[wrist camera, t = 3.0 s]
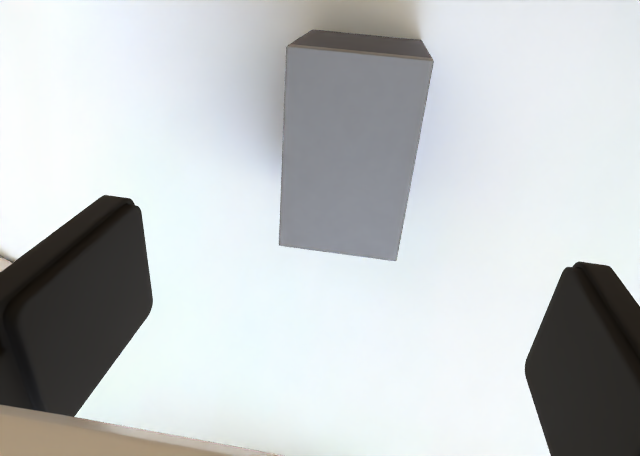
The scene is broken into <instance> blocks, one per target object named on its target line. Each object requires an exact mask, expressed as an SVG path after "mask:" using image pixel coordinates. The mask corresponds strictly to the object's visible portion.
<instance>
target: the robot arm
mask: <svg viewBox="0 0 640 456" xmlns="http://www.w3.org/2000/svg"><path fill="white" fill-rule="evenodd" d="M152 303H153V298H152V290H151V282H150V275H149V267H148V259H147V252H146V244H145V237H144V229H143V221H142V214H141V210H140V208H139V207H138V206H135V205H134V202H133V201H132V200H131V199H129V198H122V197H115V196H108V195H104V196H102V197H100V198H99V199H98V200H96V201H95V202H94V203H92V204H91V205H90V206H88V207H87V208H86V209H84V210H83V211H82V212H80V213H79V214H78V215H76V216H75V217H74V218H72V219H71V220H70V221H68V222H67V223H66V224H64V225H63V226H61V227H60V228H59V229H57V230H56V231H55V232H53V233H52V234H51V235H49V236H48V237H47V238H45V239H44V240H43V241H41V242H40V243H39V244H37V245H36V246H35V247H33V248H32V249H31V250H29V251H28V252H27V253H25V254H24V255H23V256H21V257H20V258H19V259H17V260H16V261H15V262H13V263H11V262H10V261H8V260H6V259H4V258H2V257H0V456H283V455H278V454H272V453H267V452H262V451H256V450H251V449H246V448H240V447H235V446H230V445H224V444H219V443H214V442H208V441H203V440H198V439H192V438H187V437H181V436H176V435H170V434H165V433H159V432H154V431H148V430H143V429H137V428H132V427H126V426H121V425H115V424H110V423H104V422H99V421H93V420H88V419H82V418H77V417H74V416H75V415H76V414H77V412H78V411H79V409H80V408H81V407H82V405H83V404H84V403H85V401H86V400H87V399H88V397H89V396H90V394H91V393H92V392H93V390H94V389H95V388H96V386H97V385H98V384H99V382H100V381H101V379H102V378H103V377H104V375H105V374H106V373H107V371H108V370H109V368H110V367H111V366H112V364H113V363H114V362H115V360H116V359H117V358H118V356H119V355H120V353H121V352H122V351H123V349H124V348H125V347H126V345H127V344H128V343H129V341H130V340H131V338H132V337H133V336H134V334H135V333H136V332H137V330H138V329H139V327H140V326H141V325H142V323H143V322H144V321H145V319H146V318H147V317H148V315H149V313H150V311H151V308H152ZM525 375H526V379H527V382H528V385H529V389H530V392H531V395H532V398H533V401H534V404H535V407H536V410H537V414H538V417H539V420H540V423H541V426H542V429H543V432H544V436H545V439H546V442H547V445H548V448H549V451H550V454H551V456H640V306H639V305H638V304H637V302H636V301H635V300H634V298H633V297H632V295H631V294H630V293H629V291H628V290H627V289H626V287H625V286H624V284H623V283H622V282H621V280H620V279H619V278H618V276H617V275H616V274H615V272H614V271H613V269H612V268H611V267H609V266H606V265H599V264H592V263H585V262H577V263H575V264H574V265H573V267H567V268H565V269H564V270H563V272H562V274H561V277H560V279H559V282H558V284H557V287H556V289H555V291H554V294H553V296H552V299H551V301H550V303H549V306H548V308H547V311H546V313H545V316H544V318H543V320H542V323H541V325H540V328H539V330H538V332H537V335H536V337H535V340H534V342H533V345H532V347H531V349H530V352H529V354H528V357H527V359H526V363H525Z"/></svg>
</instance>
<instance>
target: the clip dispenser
mask: <svg viewBox="0 0 640 456" xmlns="http://www.w3.org/2000/svg"><path fill="white" fill-rule="evenodd" d="M432 68H433V59H432V57H431V56H430V54H429V52H428V51H427V49H426V47H425V45H424V44H423V42H422V40H414V39H404V38H393V37H383V36H372V35H362V34H352V33H341V32H331V31H321V30H311V31H310V32H308V33H306V34H305V35H303V36H302V37H300V38H299V39H297V40H296V41H294V42H292V43H291V44H289V45H288V46H287V47H286V72H285V99H284V125H283V151H282V177H281V203H280V230H279V245H280V246H286V247H294V248H301V249H309V250H316V251H324V252H331V253H338V254H346V255H353V256H361V257H368V258H376V259H383V260H391V261H396V260H397V255H398V249H399V244H400V239H401V233H402V228H403V223H404V217H405V212H406V207H407V201H408V196H409V191H410V185H411V180H412V175H413V169H414V164H415V159H416V153H417V148H418V143H419V137H420V132H421V126H422V121H423V116H424V110H425V105H426V100H427V94H428V89H429V84H430V78H431V73H432Z"/></svg>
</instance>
